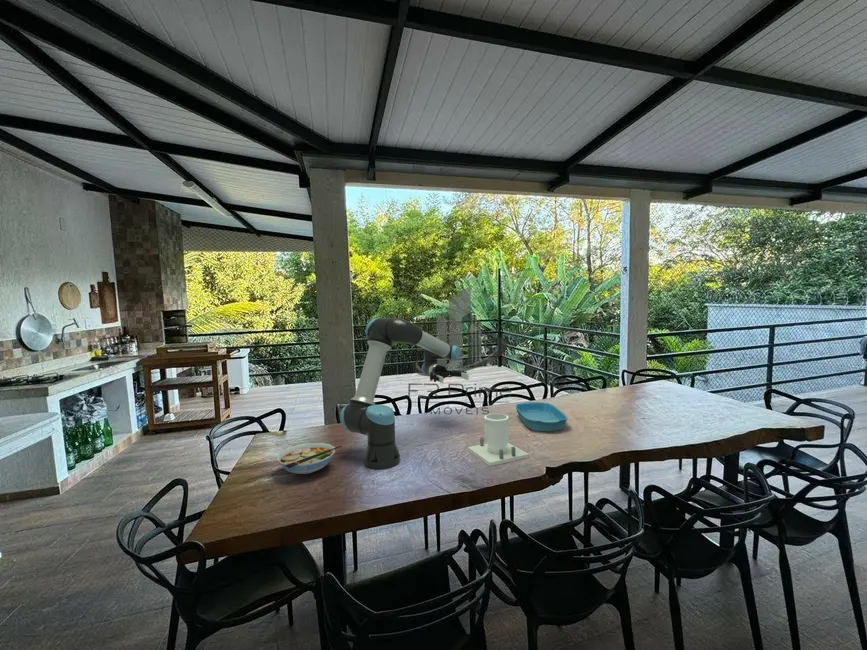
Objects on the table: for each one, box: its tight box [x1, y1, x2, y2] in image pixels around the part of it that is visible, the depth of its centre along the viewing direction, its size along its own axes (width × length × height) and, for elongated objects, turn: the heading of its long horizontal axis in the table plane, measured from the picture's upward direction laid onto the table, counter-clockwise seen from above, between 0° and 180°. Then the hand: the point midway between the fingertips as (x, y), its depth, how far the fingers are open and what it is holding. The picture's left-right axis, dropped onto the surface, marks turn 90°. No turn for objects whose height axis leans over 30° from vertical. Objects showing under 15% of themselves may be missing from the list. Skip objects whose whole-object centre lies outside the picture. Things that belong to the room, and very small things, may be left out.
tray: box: [467, 437, 529, 467], centre depth 168 cm, size 19×19×5 cm
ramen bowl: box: [276, 442, 342, 475], centre depth 158 cm, size 25×23×8 cm
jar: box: [483, 413, 510, 454], centre depth 168 cm, size 11×10×15 cm
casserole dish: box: [515, 401, 568, 432], centre depth 208 cm, size 37×22×7 cm, turn 2°
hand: (455, 378), depth 186 cm, fingers open, 13 cm apart
